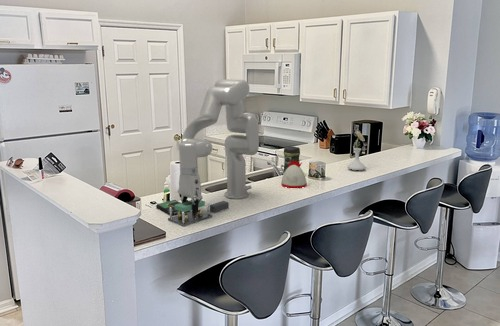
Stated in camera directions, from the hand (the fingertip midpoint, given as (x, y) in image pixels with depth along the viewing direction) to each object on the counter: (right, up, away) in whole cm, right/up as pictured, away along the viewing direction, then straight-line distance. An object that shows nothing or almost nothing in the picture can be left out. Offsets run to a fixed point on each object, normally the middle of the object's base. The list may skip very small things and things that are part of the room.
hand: (190, 210), depth 191 cm
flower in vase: (+95, +16, +92) cm, 133 cm away
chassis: (0, -4, +1) cm, 4 cm away
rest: (+12, -1, +13) cm, 17 cm away
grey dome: (+51, +8, +55) cm, 75 cm away
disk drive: (-10, -2, +13) cm, 16 cm away
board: (0, +1, 0) cm, 1 cm away
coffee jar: (+51, +12, +74) cm, 91 cm away
